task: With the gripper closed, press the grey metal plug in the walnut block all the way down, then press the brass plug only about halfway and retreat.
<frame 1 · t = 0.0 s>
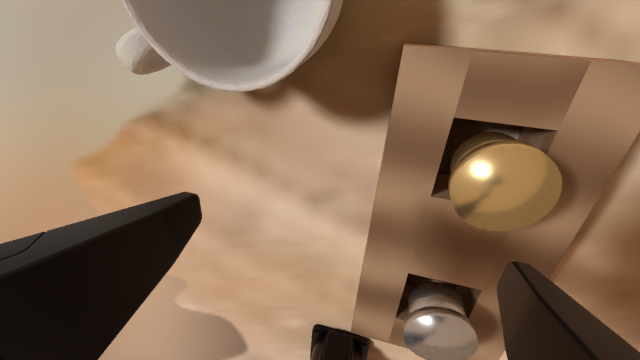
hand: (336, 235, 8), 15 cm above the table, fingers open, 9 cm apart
walnut block: (449, 214, 23), on the table
grey plug: (437, 319, 21), point 5 cm above the table, slide at 0.0 cm
brass plug: (493, 176, 16), point 5 cm above the table, slide at 0.0 cm
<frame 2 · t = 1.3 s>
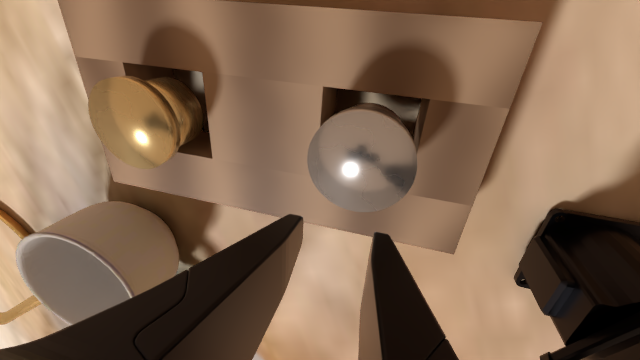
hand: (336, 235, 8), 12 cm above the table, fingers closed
walnut block: (286, 109, 20), on the table
grey plug: (364, 151, 14), point 5 cm above the table, slide at 0.0 cm
brass plug: (153, 118, 16), point 5 cm above the table, slide at 0.0 cm
teacup: (158, 243, 30), on the table
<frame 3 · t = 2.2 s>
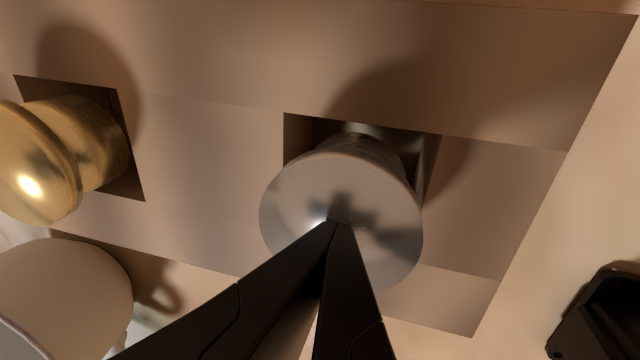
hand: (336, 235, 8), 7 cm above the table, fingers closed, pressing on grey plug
walnut block: (249, 133, 15), on the table
grey plug: (345, 204, 10), point 5 cm above the table, slide at 0.4 cm, touching gripper
brass plug: (52, 152, 12), point 5 cm above the table, slide at 0.0 cm
teacup: (113, 281, 26), on the table
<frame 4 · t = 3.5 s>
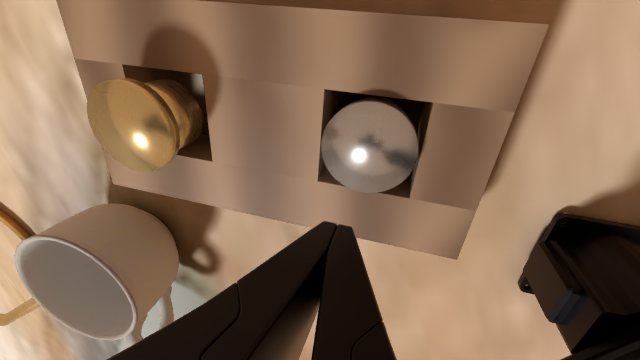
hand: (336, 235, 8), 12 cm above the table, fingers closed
walnut block: (287, 112, 20), on the table
grey plug: (371, 139, 16), point 3 cm above the table, slide at 2.4 cm
brass plug: (152, 120, 16), point 5 cm above the table, slide at 0.0 cm
teacup: (158, 245, 30), on the table
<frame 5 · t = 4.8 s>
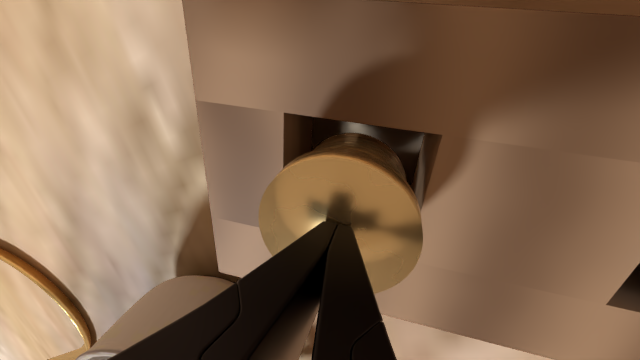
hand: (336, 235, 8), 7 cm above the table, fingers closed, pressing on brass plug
walnut block: (495, 173, 13), on the table
gold ring: (6, 312, 36), on the table
brass plug: (345, 205, 10), point 5 cm above the table, slide at 0.4 cm, touching gripper
teacup: (237, 317, 23), on the table
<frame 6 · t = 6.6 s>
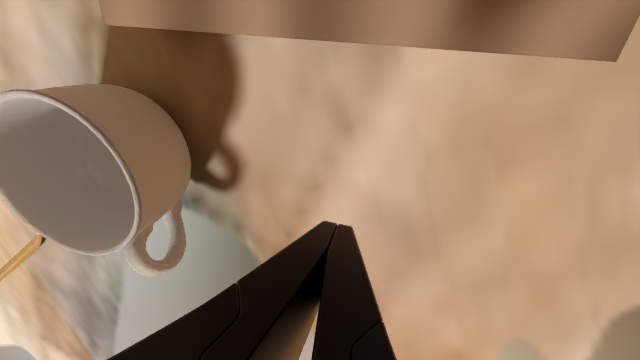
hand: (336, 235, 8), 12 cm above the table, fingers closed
teacup: (164, 157, 25), on the table
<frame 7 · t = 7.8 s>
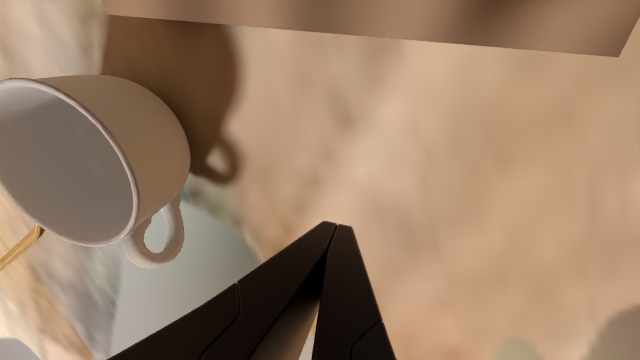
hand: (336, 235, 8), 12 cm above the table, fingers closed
teacup: (164, 150, 24), on the table
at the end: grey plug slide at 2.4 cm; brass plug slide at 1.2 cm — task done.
